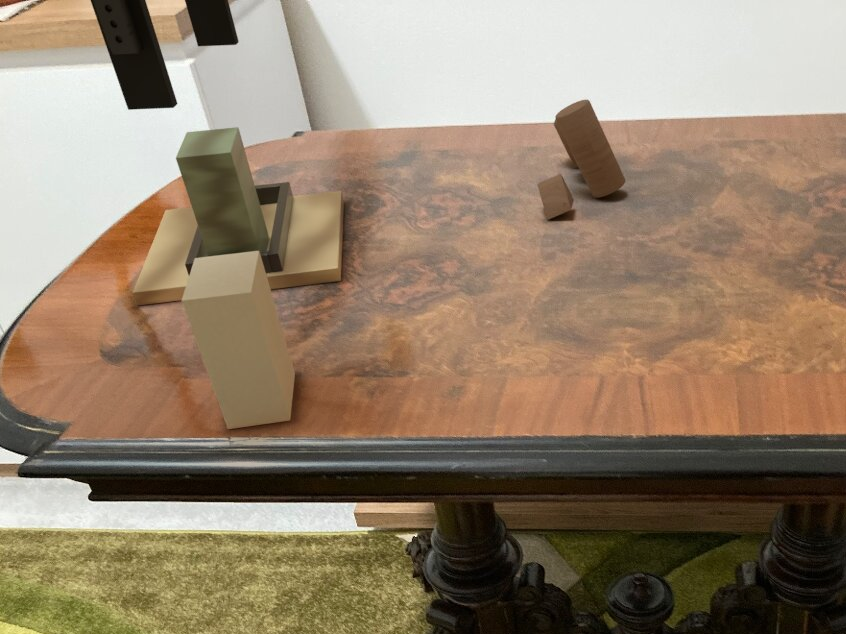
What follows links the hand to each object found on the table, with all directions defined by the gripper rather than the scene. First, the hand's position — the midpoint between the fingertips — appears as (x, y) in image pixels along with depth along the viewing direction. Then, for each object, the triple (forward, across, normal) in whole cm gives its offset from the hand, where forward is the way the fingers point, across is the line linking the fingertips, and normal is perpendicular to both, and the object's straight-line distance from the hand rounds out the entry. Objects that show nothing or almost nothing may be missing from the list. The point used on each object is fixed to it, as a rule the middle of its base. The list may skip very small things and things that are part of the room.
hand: (188, 73), depth 61 cm
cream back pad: (+27, +1, +2) cm, 27 cm away
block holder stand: (+27, +30, +11) cm, 42 cm away
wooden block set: (+27, +43, -26) cm, 57 cm away
